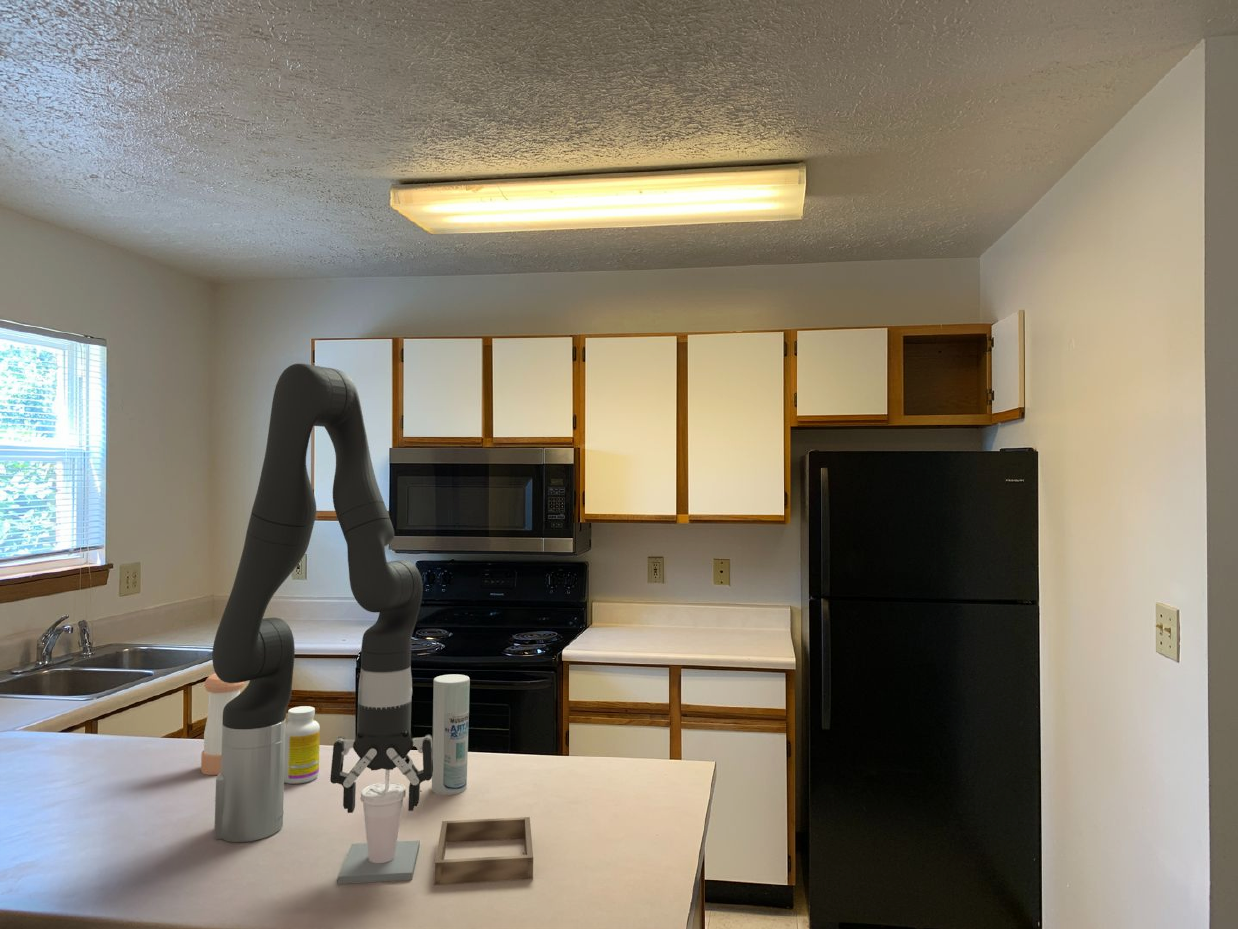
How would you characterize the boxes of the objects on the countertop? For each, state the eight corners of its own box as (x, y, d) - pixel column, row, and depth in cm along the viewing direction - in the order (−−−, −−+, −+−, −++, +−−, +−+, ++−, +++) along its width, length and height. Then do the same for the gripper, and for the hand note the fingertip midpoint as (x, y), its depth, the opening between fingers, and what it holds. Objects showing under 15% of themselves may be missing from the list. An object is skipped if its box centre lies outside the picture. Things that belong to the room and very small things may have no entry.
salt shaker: (231, 775, 147) (234, 673, 147) (193, 775, 147) (196, 672, 147) (250, 762, 154) (253, 664, 154) (213, 761, 154) (216, 664, 155)
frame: (434, 884, 108) (434, 863, 108) (441, 840, 121) (442, 821, 121) (532, 879, 110) (533, 857, 110) (529, 836, 123) (529, 817, 123)
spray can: (450, 779, 147) (452, 672, 147) (474, 787, 143) (477, 677, 143) (423, 789, 141) (426, 679, 142) (448, 798, 138) (450, 684, 138)
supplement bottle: (326, 777, 147) (328, 708, 147) (295, 788, 141) (297, 716, 142) (304, 769, 150) (306, 702, 151) (272, 780, 145) (274, 710, 145)
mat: (337, 884, 107) (338, 876, 108) (351, 850, 117) (351, 843, 117) (412, 879, 109) (412, 872, 109) (419, 847, 119) (419, 840, 119)
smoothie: (391, 870, 110) (393, 769, 110) (349, 865, 111) (352, 765, 111) (412, 849, 116) (414, 754, 116) (372, 845, 117) (375, 751, 118)
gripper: (328, 706, 109) (325, 823, 109) (432, 704, 111) (429, 818, 111) (339, 692, 117) (336, 801, 116) (436, 690, 119) (433, 797, 118)
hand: (381, 809), depth 114 cm, fingers open, 8 cm apart
